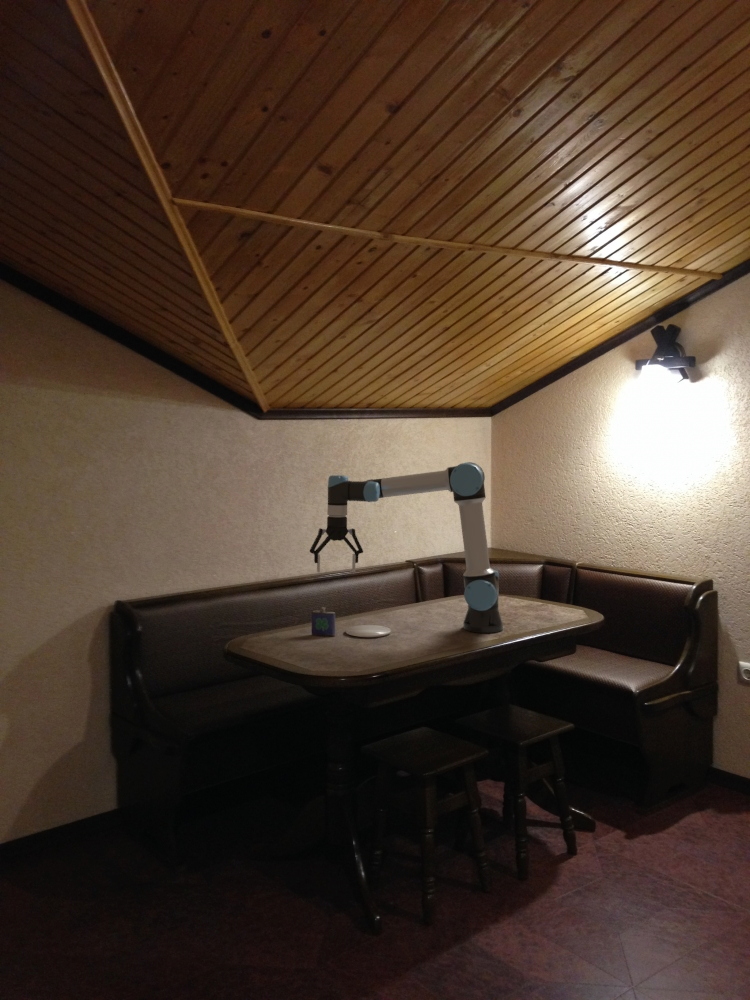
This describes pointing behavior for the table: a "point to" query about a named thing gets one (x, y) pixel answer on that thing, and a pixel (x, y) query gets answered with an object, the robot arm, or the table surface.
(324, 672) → the table surface
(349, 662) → the table surface
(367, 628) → the plate
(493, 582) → the robot arm
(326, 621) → the blue hip flask
